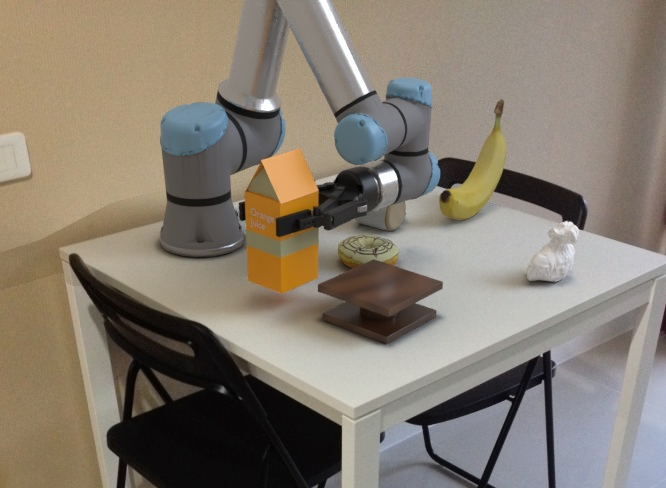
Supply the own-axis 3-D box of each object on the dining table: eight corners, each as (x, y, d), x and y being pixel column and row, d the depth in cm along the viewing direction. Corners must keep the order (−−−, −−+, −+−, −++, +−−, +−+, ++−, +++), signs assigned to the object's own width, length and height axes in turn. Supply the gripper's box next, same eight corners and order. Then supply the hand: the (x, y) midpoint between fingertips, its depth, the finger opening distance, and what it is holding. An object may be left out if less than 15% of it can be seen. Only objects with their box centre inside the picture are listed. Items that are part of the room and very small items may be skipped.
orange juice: (247, 280, 158) (242, 154, 146) (284, 265, 164) (282, 142, 152) (282, 294, 154) (279, 166, 142) (319, 278, 160) (320, 153, 148)
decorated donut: (376, 279, 169) (377, 258, 167) (326, 264, 174) (326, 244, 172) (408, 260, 176) (409, 240, 174) (359, 247, 181) (360, 227, 179)
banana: (454, 232, 188) (463, 124, 176) (428, 226, 191) (435, 119, 179) (507, 201, 203) (518, 100, 191) (482, 196, 206) (492, 95, 194)
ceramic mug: (387, 236, 185) (389, 196, 181) (351, 227, 189) (352, 187, 184) (415, 222, 192) (418, 183, 188) (381, 213, 196) (382, 174, 192)
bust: (531, 300, 168) (574, 261, 159) (505, 265, 169) (546, 224, 160) (567, 280, 176) (610, 241, 167) (542, 246, 176) (583, 206, 167)
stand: (317, 320, 155) (317, 284, 152) (372, 293, 164) (373, 259, 161) (387, 346, 148) (388, 309, 145) (440, 316, 157) (443, 281, 153)
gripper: (408, 228, 159) (304, 263, 146) (322, 195, 171) (218, 224, 158) (411, 182, 154) (303, 214, 142) (322, 151, 166) (215, 178, 154)
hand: (258, 219), depth 150 cm, fingers closed on orange juice, 8 cm apart
